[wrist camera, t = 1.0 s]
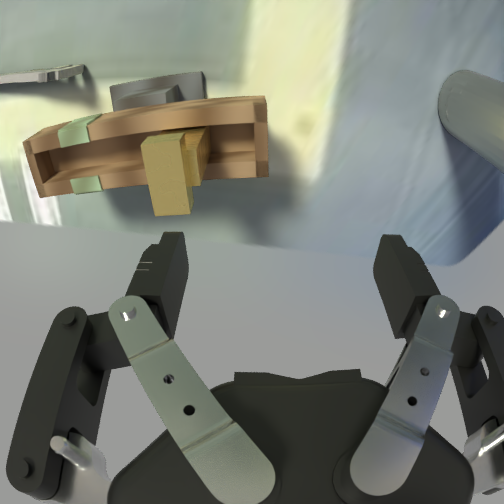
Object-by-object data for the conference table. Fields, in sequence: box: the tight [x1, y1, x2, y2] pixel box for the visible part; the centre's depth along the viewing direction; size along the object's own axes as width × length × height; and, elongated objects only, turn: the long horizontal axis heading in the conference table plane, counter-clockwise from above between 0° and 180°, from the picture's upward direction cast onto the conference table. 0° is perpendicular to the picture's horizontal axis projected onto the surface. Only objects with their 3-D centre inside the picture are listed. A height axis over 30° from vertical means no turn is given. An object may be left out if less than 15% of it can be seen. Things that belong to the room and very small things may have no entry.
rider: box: [141, 125, 211, 216], centre depth 22 cm, size 4×5×9 cm
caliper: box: [0, 64, 84, 84], centre depth 24 cm, size 20×1×6 cm, turn 80°
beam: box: [23, 72, 269, 198], centre depth 28 cm, size 22×10×10 cm, turn 92°
